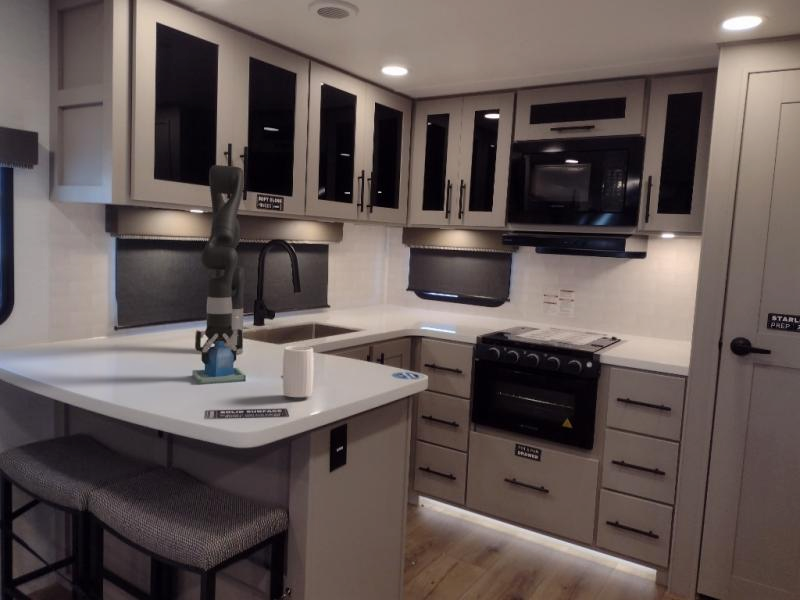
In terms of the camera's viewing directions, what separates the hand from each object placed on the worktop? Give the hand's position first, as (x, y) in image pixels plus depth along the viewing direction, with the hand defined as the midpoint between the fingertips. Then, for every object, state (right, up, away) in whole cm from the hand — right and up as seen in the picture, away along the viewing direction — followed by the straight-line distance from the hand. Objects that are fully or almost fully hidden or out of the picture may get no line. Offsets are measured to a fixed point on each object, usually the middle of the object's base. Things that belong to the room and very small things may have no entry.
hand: (218, 363), depth 187 cm
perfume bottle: (0, -4, 0) cm, 4 cm away
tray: (0, -5, 0) cm, 5 cm away
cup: (+28, -8, -19) cm, 34 cm away
